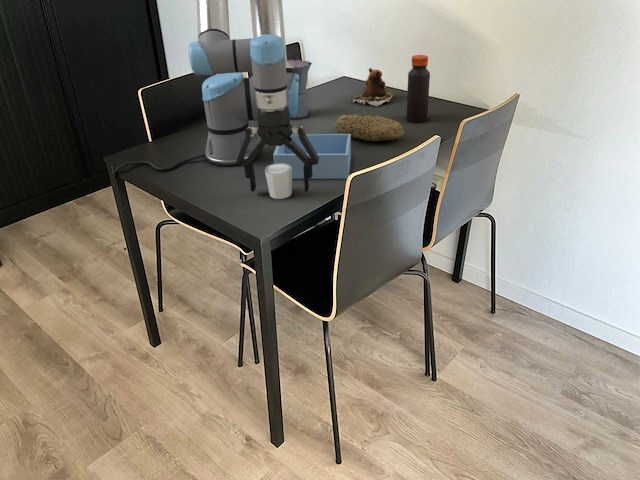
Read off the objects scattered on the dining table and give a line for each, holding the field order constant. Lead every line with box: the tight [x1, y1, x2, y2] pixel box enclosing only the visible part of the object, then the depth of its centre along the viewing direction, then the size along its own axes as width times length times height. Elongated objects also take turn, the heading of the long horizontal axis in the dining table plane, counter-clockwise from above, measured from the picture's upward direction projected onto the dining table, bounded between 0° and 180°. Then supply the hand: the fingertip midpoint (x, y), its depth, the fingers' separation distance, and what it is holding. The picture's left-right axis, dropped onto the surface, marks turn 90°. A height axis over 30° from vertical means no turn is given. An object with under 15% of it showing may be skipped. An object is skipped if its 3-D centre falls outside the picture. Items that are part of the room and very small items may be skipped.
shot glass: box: [264, 163, 293, 200], centre depth 138 cm, size 7×7×7 cm
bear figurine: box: [352, 67, 394, 107], centre depth 197 cm, size 14×15×12 cm
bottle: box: [405, 54, 431, 123], centre depth 176 cm, size 7×7×20 cm
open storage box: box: [272, 133, 352, 180], centre depth 151 cm, size 20×15×7 cm
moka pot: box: [287, 54, 313, 119], centre depth 184 cm, size 10×15×20 cm, turn 124°
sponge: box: [334, 113, 405, 142], centre depth 167 cm, size 13×8×20 cm
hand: (280, 189), depth 139 cm, fingers open, 13 cm apart
